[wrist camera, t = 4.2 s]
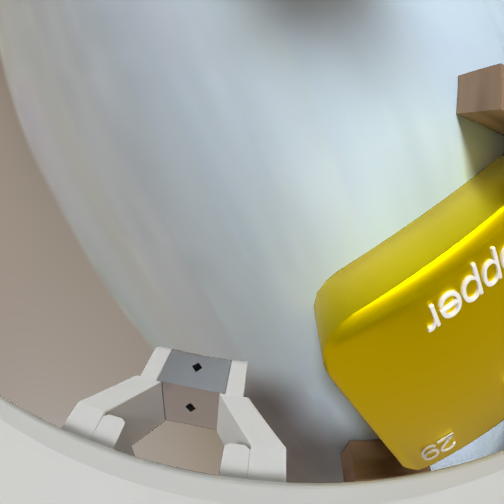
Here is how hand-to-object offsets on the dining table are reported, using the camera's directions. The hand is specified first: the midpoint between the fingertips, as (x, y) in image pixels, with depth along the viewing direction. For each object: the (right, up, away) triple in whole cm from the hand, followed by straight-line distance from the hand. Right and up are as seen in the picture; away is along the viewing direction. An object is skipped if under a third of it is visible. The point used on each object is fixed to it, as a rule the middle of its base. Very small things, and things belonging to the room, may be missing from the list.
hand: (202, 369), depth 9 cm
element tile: (+14, 0, +5) cm, 15 cm away
